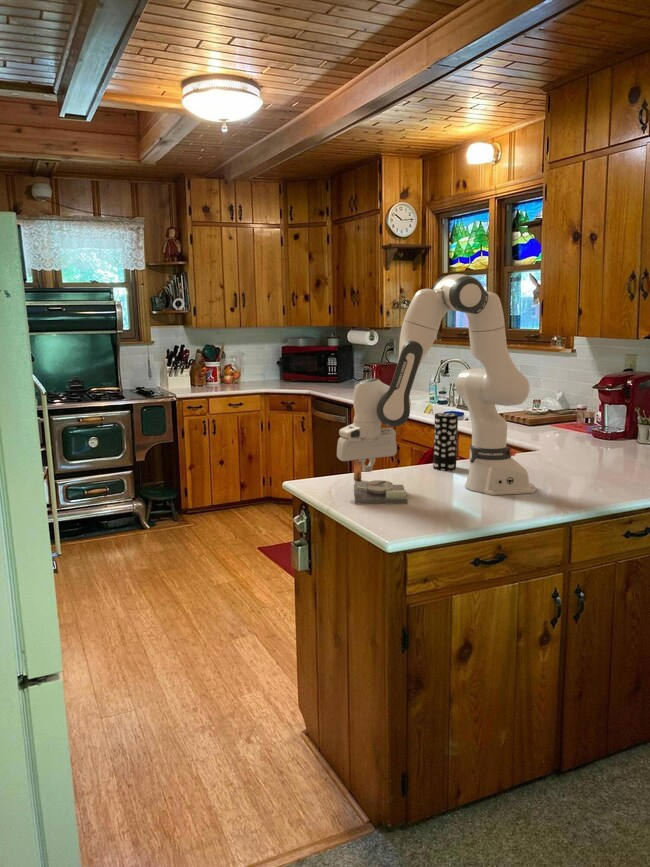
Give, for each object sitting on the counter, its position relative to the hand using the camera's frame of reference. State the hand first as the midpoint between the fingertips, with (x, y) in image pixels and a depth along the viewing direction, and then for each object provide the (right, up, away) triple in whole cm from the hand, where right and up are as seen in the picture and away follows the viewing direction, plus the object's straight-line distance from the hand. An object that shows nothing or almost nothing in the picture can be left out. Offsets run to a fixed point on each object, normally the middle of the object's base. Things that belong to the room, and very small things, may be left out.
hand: (367, 471), depth 226 cm
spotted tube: (+30, -1, +32) cm, 44 cm away
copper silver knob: (+1, -6, -4) cm, 7 cm away
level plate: (+4, -8, -5) cm, 10 cm away
